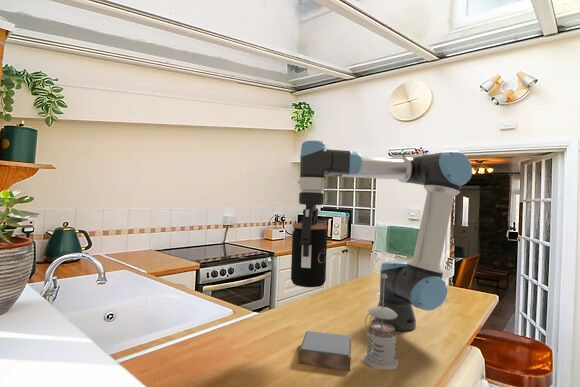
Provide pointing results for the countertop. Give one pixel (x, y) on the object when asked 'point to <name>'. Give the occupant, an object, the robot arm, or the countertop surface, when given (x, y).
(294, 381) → the countertop surface
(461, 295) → the countertop surface
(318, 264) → the coffee jar
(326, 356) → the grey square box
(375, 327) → the glass coffee plunger
